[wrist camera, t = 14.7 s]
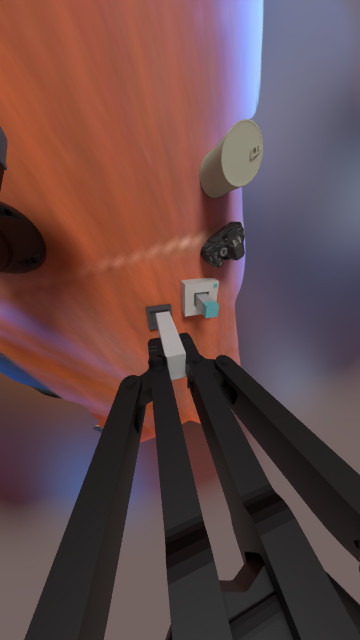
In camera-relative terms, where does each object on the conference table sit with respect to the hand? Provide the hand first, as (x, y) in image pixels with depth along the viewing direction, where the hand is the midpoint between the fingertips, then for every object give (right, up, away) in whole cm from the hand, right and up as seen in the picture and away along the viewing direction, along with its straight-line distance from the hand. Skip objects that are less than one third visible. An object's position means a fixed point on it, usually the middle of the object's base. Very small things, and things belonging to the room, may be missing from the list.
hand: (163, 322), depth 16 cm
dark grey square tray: (-6, +2, +39) cm, 39 cm away
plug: (+8, +10, +37) cm, 39 cm away
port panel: (+8, +10, +38) cm, 40 cm away
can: (+11, +39, +21) cm, 46 cm away
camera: (+14, +25, +31) cm, 42 cm away
